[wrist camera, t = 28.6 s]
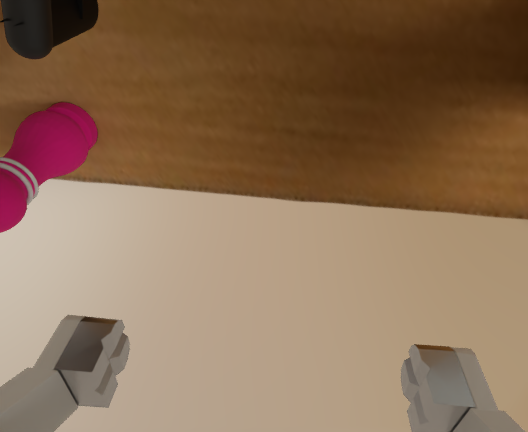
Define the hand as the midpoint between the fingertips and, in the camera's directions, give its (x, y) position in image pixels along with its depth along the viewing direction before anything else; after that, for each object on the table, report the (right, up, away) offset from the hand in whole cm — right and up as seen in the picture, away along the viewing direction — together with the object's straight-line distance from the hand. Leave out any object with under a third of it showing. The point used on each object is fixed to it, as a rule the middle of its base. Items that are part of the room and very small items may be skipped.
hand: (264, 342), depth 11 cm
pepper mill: (-23, +15, +36) cm, 45 cm away
